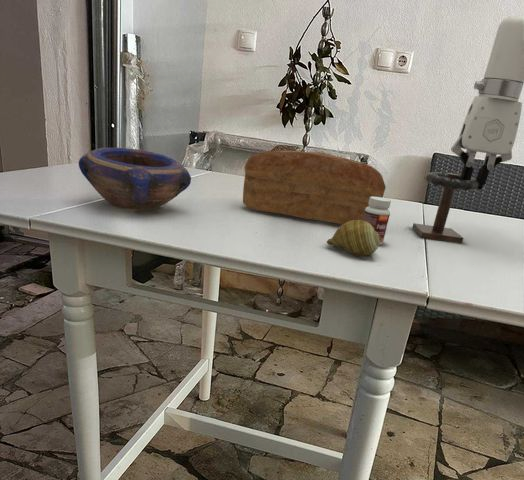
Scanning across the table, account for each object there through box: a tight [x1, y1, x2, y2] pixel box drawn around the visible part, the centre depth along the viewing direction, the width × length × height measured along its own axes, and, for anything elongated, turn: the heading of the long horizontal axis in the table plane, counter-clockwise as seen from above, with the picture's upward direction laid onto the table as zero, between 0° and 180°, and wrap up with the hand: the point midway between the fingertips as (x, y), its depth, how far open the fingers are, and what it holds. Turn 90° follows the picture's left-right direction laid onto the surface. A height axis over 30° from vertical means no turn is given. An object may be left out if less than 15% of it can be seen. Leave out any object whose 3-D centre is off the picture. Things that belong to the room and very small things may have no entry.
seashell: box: [326, 220, 382, 258], centre depth 89 cm, size 10×7×8 cm
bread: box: [242, 149, 387, 226], centre depth 111 cm, size 12×31×14 cm, turn 78°
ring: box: [424, 171, 480, 191], centre depth 108 cm, size 11×11×2 cm
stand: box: [411, 172, 464, 244], centre depth 110 cm, size 9×9×13 cm
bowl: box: [78, 147, 192, 211], centre depth 98 cm, size 18×18×10 cm
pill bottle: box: [363, 197, 392, 246], centre depth 97 cm, size 5×5×8 cm
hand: (471, 186), depth 108 cm, fingers closed on ring, 2 cm apart
